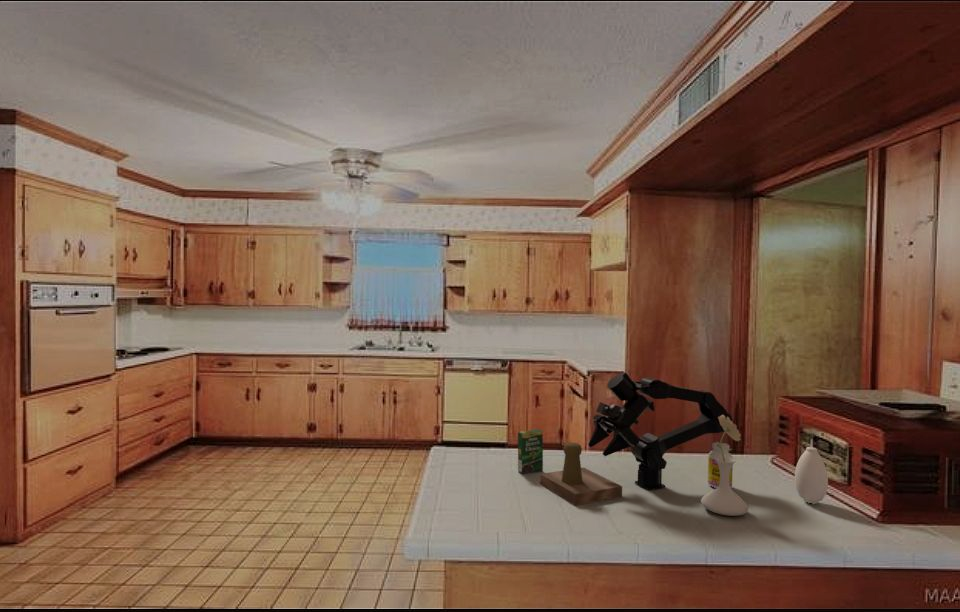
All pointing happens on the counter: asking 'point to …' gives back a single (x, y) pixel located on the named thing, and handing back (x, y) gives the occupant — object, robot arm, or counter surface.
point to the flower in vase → (725, 480)
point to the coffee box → (530, 451)
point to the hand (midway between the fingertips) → (596, 450)
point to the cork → (572, 464)
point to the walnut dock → (582, 487)
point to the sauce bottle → (811, 476)
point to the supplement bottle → (713, 465)
